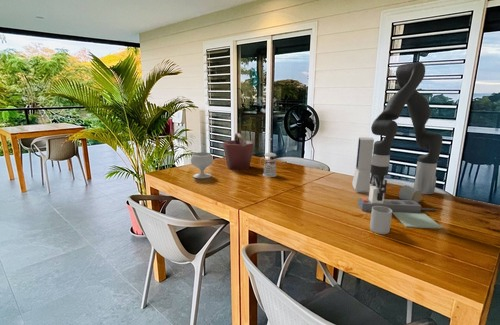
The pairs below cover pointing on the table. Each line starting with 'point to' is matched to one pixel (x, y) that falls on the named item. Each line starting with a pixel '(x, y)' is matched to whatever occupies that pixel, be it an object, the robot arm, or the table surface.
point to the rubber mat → (416, 220)
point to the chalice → (201, 163)
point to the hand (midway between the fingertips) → (376, 197)
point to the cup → (380, 219)
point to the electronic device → (363, 165)
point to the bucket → (238, 153)
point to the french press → (267, 170)
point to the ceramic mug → (410, 194)
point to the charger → (374, 195)
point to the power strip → (393, 205)
